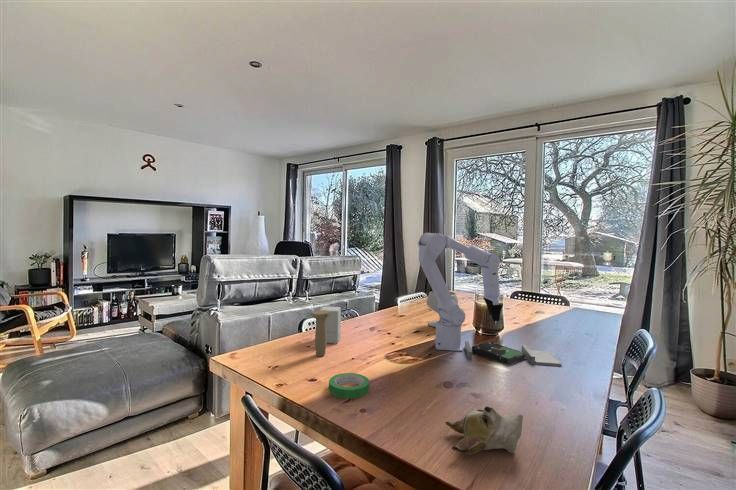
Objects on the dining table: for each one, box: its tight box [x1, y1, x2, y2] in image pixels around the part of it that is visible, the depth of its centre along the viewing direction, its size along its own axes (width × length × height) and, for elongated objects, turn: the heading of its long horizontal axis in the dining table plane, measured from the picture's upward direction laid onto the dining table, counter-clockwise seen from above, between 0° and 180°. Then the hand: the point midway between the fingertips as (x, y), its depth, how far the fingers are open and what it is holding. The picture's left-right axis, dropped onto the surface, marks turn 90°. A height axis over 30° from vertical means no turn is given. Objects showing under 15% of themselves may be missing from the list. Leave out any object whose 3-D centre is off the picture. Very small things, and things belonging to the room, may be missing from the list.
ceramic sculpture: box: [444, 406, 524, 455], centre depth 74 cm, size 11×9×15 cm
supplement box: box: [320, 306, 342, 344], centre depth 139 cm, size 7×7×13 cm
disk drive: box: [471, 341, 526, 366], centre depth 127 cm, size 10×3×15 cm
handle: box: [311, 309, 330, 357], centre depth 123 cm, size 5×6×15 cm
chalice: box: [426, 290, 459, 328], centre depth 164 cm, size 14×14×15 cm
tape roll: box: [328, 372, 370, 400], centre depth 99 cm, size 11×11×3 cm
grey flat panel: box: [464, 340, 563, 367], centre depth 126 cm, size 30×12×2 cm, turn 81°
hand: (494, 317), depth 139 cm, fingers open, 7 cm apart
